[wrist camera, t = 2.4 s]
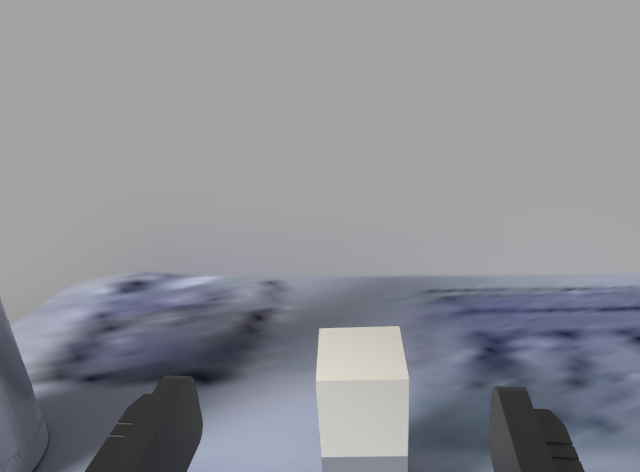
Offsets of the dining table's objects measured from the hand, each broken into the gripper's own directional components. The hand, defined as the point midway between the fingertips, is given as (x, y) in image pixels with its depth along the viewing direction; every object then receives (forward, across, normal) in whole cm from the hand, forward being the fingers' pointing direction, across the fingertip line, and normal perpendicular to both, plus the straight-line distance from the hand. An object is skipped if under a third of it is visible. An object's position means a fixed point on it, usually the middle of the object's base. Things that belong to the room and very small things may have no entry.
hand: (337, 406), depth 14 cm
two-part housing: (+12, 0, +16) cm, 20 cm away
